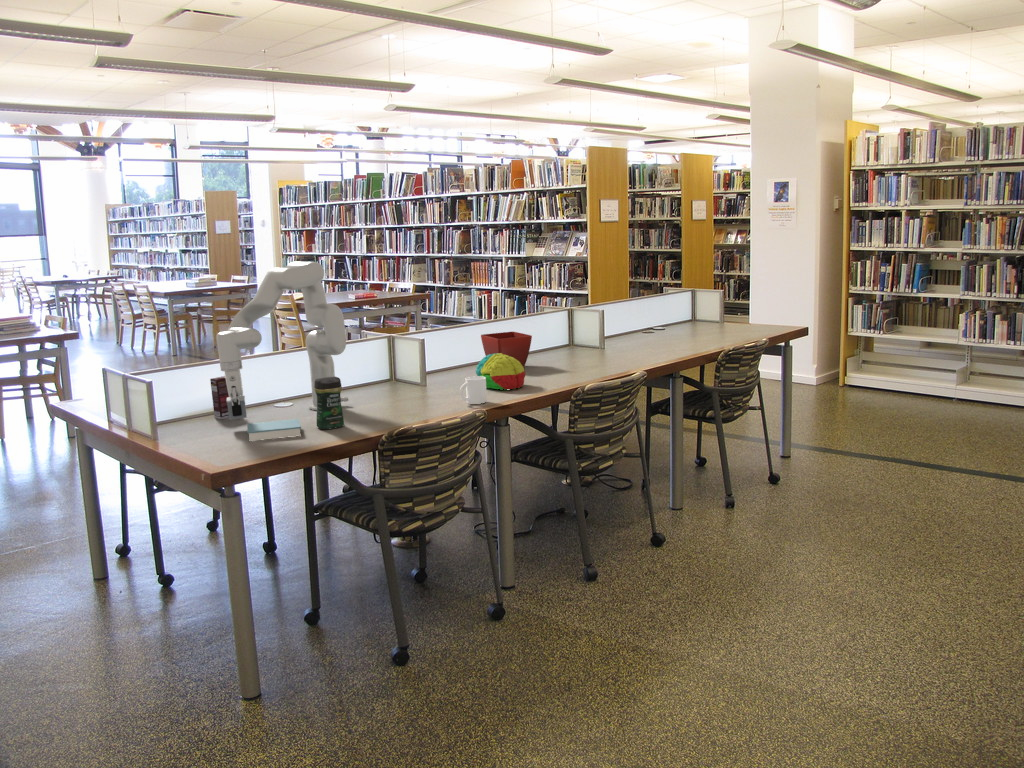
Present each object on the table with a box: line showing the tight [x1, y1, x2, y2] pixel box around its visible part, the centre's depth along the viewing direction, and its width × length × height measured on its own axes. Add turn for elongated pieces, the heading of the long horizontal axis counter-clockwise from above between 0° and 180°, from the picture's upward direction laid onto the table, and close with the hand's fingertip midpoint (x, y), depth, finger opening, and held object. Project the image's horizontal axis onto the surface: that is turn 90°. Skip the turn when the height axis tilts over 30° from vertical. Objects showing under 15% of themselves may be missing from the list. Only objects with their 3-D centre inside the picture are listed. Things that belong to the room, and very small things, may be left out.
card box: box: [227, 395, 248, 421], centre depth 307 cm, size 6×6×7 cm
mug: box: [459, 375, 488, 405], centre depth 338 cm, size 12×8×10 cm
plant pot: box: [480, 331, 533, 368], centre depth 414 cm, size 19×19×17 cm
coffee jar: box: [314, 376, 345, 430], centre depth 306 cm, size 10×8×19 cm
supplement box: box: [209, 375, 229, 420], centre depth 328 cm, size 9×5×16 cm, turn 141°
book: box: [246, 418, 302, 442], centre depth 299 cm, size 18×13×4 cm
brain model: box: [475, 353, 526, 391], centre depth 370 cm, size 24×19×15 cm
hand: (237, 413), depth 307 cm, fingers closed on card box, 5 cm apart
